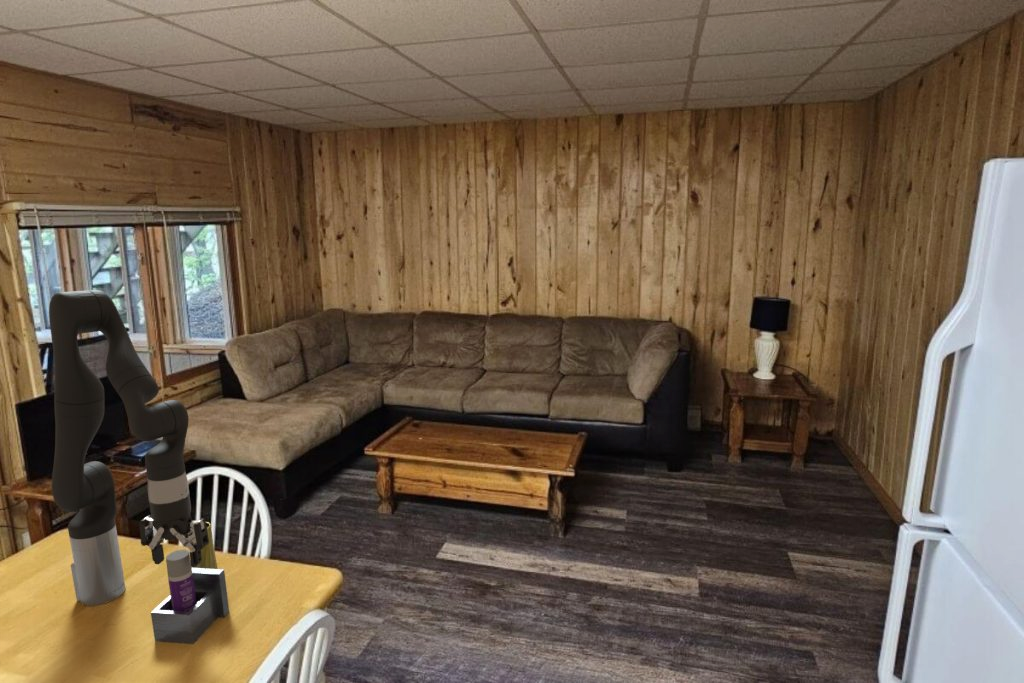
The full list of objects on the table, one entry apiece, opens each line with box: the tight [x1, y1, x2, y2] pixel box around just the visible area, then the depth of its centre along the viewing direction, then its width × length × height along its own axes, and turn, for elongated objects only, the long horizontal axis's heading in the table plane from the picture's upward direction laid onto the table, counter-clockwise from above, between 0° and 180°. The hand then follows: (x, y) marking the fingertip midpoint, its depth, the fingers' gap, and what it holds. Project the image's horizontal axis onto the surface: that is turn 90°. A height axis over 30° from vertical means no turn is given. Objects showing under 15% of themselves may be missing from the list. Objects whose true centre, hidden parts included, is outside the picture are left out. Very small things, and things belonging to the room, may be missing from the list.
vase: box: [187, 521, 219, 569], centre depth 155 cm, size 6×6×14 cm
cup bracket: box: [150, 568, 230, 645], centre depth 137 cm, size 12×11×11 cm
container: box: [165, 549, 197, 612], centre depth 135 cm, size 5×5×15 cm
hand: (177, 563), depth 134 cm, fingers open, 8 cm apart
